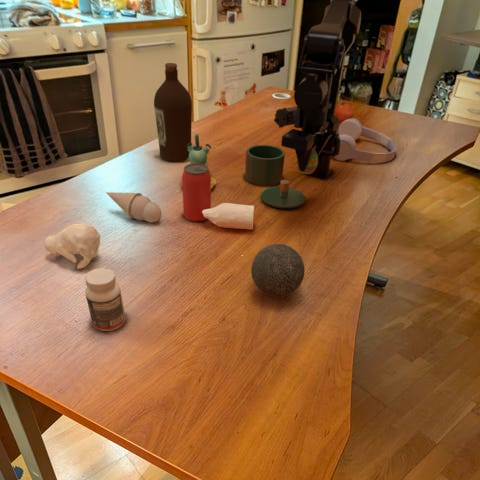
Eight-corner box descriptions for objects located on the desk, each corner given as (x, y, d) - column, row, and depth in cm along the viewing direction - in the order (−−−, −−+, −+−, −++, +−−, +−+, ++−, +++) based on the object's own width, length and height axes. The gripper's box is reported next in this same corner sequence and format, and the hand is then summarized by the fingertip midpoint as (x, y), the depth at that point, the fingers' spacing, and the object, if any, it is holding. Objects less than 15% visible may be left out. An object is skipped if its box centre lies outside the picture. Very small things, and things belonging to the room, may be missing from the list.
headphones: (325, 158, 143) (390, 173, 139) (331, 135, 138) (398, 150, 134) (337, 135, 159) (395, 148, 155) (342, 114, 154) (402, 127, 151)
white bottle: (204, 218, 111) (203, 196, 108) (253, 221, 111) (255, 200, 107) (200, 230, 107) (200, 208, 103) (251, 234, 106) (253, 212, 103)
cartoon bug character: (171, 200, 118) (168, 139, 109) (188, 178, 133) (187, 124, 124) (207, 203, 117) (208, 143, 108) (221, 181, 132) (222, 127, 123)
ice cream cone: (106, 207, 113) (159, 230, 110) (94, 201, 107) (149, 225, 104) (116, 184, 113) (169, 206, 110) (104, 176, 107) (159, 200, 104)
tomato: (353, 130, 164) (357, 107, 158) (327, 129, 164) (331, 105, 158) (348, 122, 171) (353, 99, 166) (324, 121, 171) (327, 98, 165)
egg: (293, 173, 110) (296, 148, 106) (298, 165, 113) (301, 141, 109) (313, 177, 109) (317, 152, 105) (318, 169, 112) (322, 144, 108)
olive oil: (187, 148, 145) (183, 58, 129) (198, 160, 138) (196, 67, 122) (154, 151, 142) (146, 60, 125) (163, 164, 134) (156, 69, 118)
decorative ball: (263, 313, 85) (267, 268, 78) (241, 282, 92) (244, 239, 85) (310, 301, 88) (318, 257, 82) (286, 272, 95) (291, 230, 88)
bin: (257, 167, 136) (258, 142, 131) (288, 176, 132) (291, 150, 127) (238, 179, 129) (239, 153, 124) (270, 189, 125) (273, 162, 120)
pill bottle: (95, 311, 83) (85, 266, 77) (127, 310, 84) (119, 265, 77) (90, 332, 79) (79, 286, 73) (123, 332, 80) (115, 285, 73)
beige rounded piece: (81, 234, 87) (28, 228, 90) (92, 272, 92) (42, 265, 95) (99, 219, 91) (48, 213, 94) (108, 256, 97) (60, 249, 100)
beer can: (206, 224, 109) (206, 175, 101) (180, 220, 110) (177, 172, 102) (213, 211, 114) (213, 164, 106) (188, 208, 115) (186, 160, 107)
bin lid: (274, 187, 126) (276, 168, 123) (312, 198, 122) (314, 179, 118) (253, 202, 119) (254, 183, 115) (292, 215, 114) (294, 195, 111)
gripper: (301, 82, 109) (294, 147, 119) (262, 101, 97) (258, 172, 107) (345, 90, 105) (333, 157, 115) (310, 111, 93) (301, 184, 103)
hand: (306, 167), depth 110 cm, fingers closed on egg, 5 cm apart
